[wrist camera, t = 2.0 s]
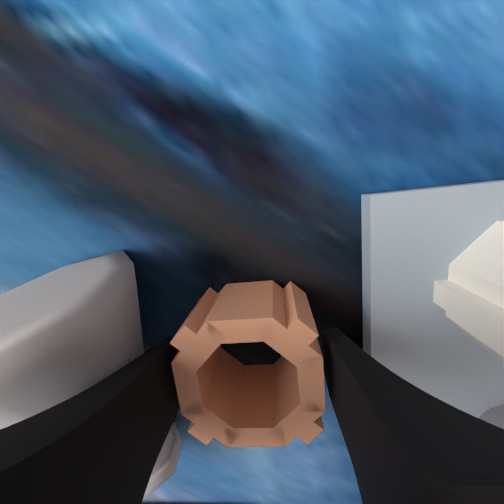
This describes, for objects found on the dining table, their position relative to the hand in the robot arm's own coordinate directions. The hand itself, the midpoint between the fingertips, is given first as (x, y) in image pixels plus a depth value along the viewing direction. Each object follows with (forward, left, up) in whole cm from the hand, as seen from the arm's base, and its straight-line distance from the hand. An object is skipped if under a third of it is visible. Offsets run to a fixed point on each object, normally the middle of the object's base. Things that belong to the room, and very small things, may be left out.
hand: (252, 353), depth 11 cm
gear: (0, 0, -2) cm, 2 cm away
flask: (+4, +7, +2) cm, 9 cm away
